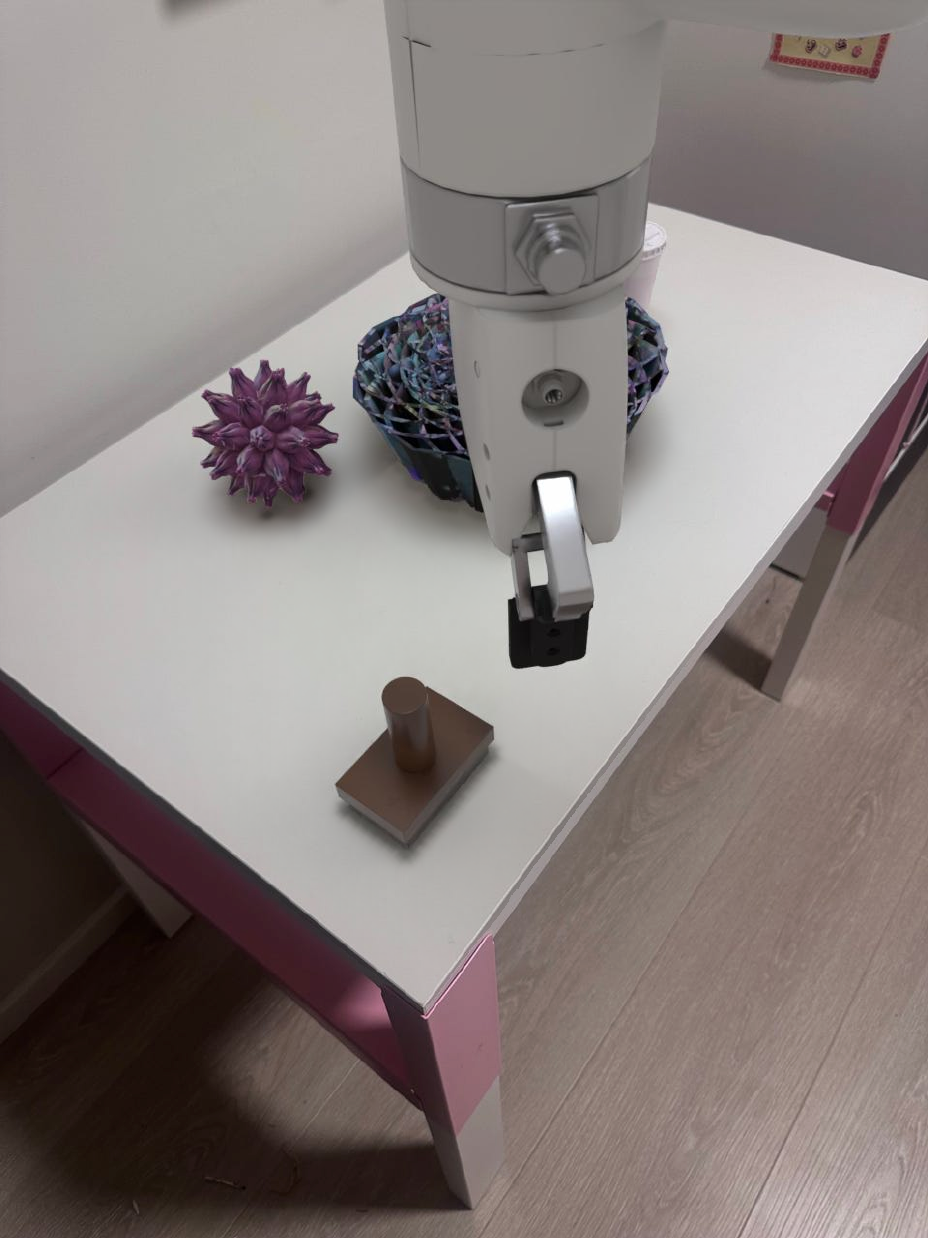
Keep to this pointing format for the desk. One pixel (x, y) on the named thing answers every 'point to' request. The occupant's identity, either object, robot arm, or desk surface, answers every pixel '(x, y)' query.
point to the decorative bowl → (427, 395)
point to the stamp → (415, 760)
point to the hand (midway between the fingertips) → (524, 576)
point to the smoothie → (647, 265)
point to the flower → (266, 434)
